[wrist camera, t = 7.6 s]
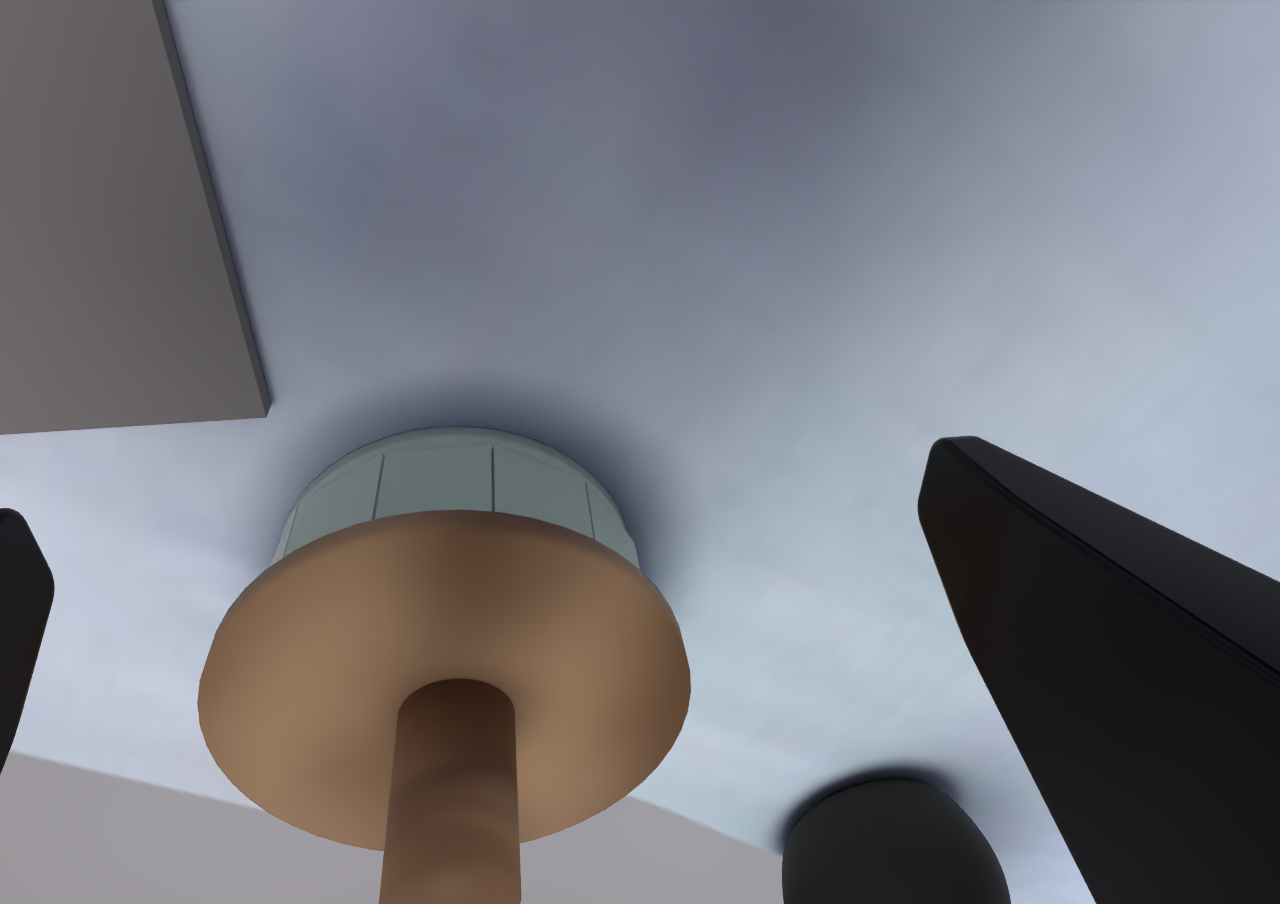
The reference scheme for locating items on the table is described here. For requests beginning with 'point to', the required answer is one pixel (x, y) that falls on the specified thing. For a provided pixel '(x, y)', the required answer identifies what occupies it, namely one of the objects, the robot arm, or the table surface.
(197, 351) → the mat
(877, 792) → the cola bottle
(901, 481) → the table surface
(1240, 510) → the table surface
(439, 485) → the prep bowl
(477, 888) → the lid
